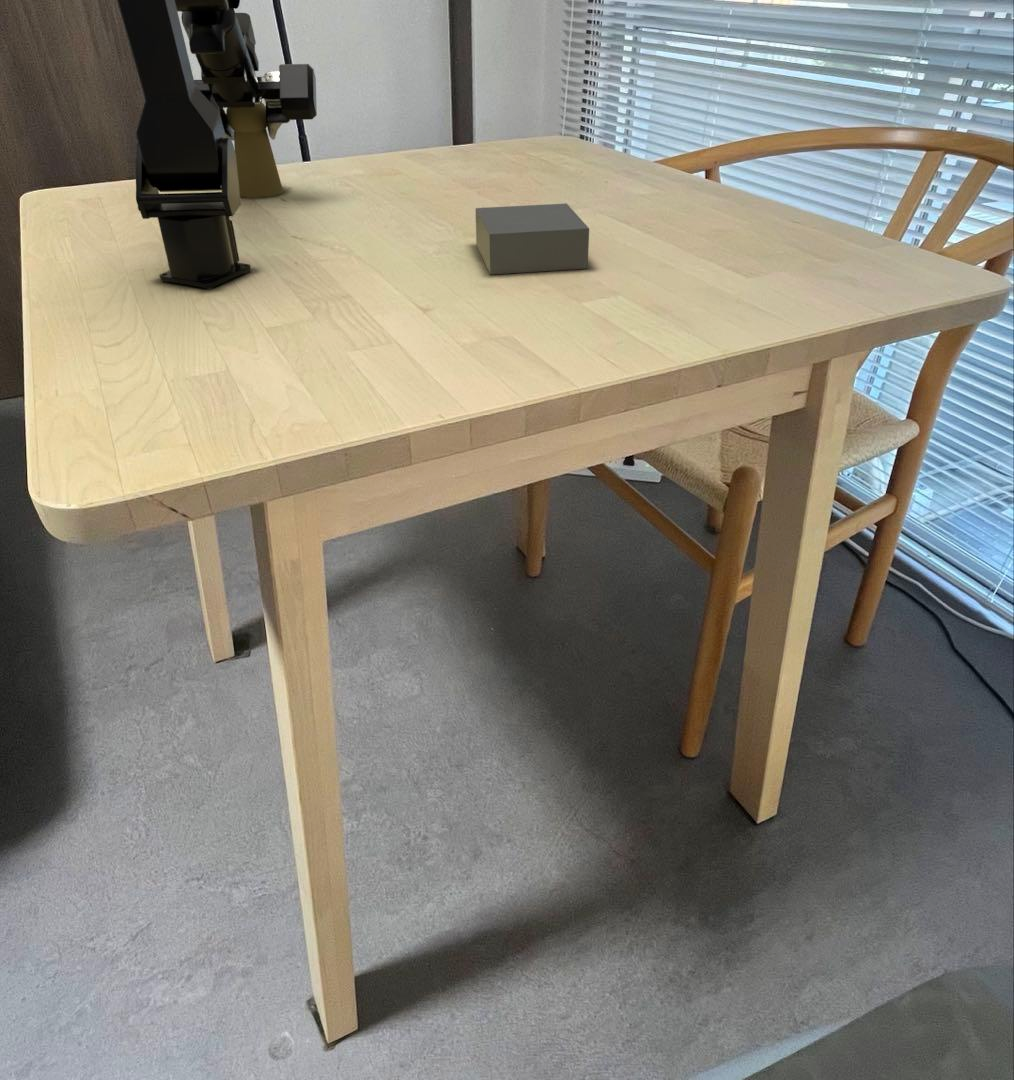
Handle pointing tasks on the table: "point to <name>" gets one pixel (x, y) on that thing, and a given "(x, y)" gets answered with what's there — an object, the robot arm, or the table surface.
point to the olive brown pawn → (253, 152)
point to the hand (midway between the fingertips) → (253, 136)
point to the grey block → (531, 238)
